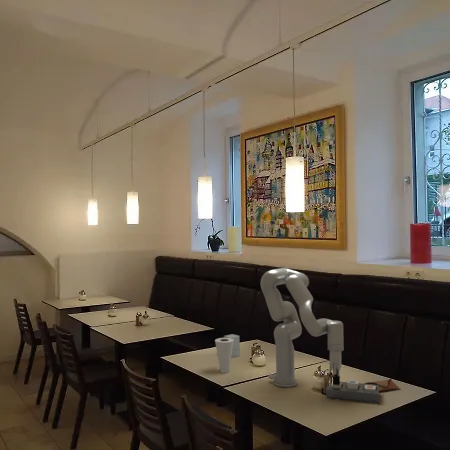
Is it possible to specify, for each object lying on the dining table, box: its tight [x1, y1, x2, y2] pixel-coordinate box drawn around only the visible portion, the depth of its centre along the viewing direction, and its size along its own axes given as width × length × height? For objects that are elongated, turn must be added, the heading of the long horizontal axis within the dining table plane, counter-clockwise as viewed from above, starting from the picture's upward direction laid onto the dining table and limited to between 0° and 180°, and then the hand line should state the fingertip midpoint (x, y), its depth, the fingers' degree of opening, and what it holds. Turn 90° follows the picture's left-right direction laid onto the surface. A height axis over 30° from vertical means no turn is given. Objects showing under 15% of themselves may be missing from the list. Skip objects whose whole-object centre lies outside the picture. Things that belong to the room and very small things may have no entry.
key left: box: [330, 383, 342, 388], centre depth 245 cm, size 5×5×4 cm
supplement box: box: [223, 333, 241, 359], centre depth 318 cm, size 7×7×13 cm
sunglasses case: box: [363, 378, 401, 394], centre depth 253 cm, size 18×7×7 cm, turn 112°
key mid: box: [346, 379, 360, 390], centre depth 243 cm, size 5×5×4 cm
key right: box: [364, 385, 376, 391], centre depth 240 cm, size 5×5×4 cm
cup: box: [214, 337, 234, 374], centre depth 285 cm, size 11×11×18 cm
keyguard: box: [325, 381, 380, 404], centre depth 243 cm, size 24×13×4 cm, turn 72°
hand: (336, 384), depth 245 cm, fingers closed
